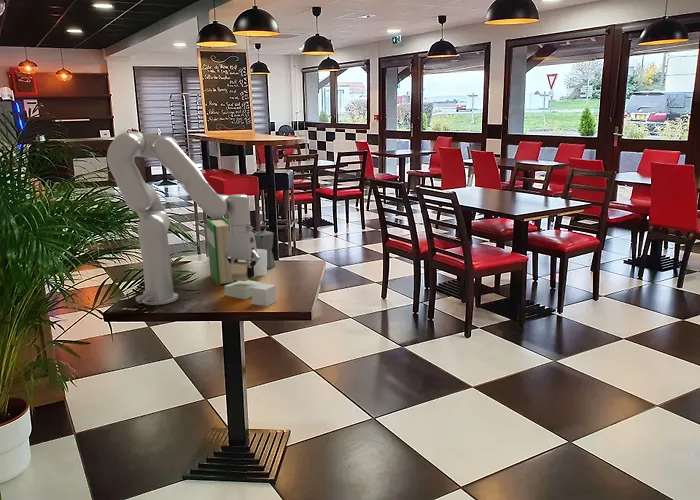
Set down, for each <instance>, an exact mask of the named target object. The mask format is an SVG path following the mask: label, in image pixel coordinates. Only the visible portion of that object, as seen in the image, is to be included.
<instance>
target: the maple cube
mask: <svg viewBox="0 0 700 500" xmlns="http://www.w3.org/2000/svg"><path fill="white" fill-rule="evenodd" d="M250 263H251V262H250ZM247 268H249V267H248V265H247V262H246V260H238V262H235V263H232V264H231V271H232V280H237V281H248V280H250V281H251V280H252V279H254V278H256V276H255V266H254V277H252V278H250V279H249V278H248V272H247Z"/></svg>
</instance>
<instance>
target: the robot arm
mask: <svg viewBox="0 0 700 500" xmlns="http://www.w3.org/2000/svg"><path fill="white" fill-rule="evenodd" d="M136 157H137V158H139V157H140V158H147V159H155V160H157V161H158V162H159V163H160V164H161V165H162V166H163V167H164V169H166V170H167V172H168V173H169V174H171V176H172V177H173V178H174V179H175V180H176V181H177V182H178V183H179V185H181V187H182V189H183V190H184V191H185V192H186V193H187V194H188V196H190V198H191V199H192V200H193V201H194V202H195V204H196V205H197V206H198V207H199V208H200V209H201V210H202V211H203V212H204V213H205V214H206V215H207V216H208V217H209V218H215V219H218V218H222V217H224V216H225V215H227V214H228V221H229V226H230V232H229V235H228V251H227V252H226V253H225V255H224V256H225V257H226V259H228V261H229V263H230V265H231V264H232V263H235V262H238V261H240V260H243V261H246V262H247V265H248V267H249V268H247V272H248V278H249V279H250V278H252V277H254V266H255V265H256V264H257V262H258V261H259V260H260V259H261V258H260V256H259V255H258V254H257V249H256V242H255V237H254V234H253V233H254V232H253V231H252V230H253V229H254V227H253V226H252V225H251V212H250V210H251V209H250V198H249V196H248V195H247V194H245V193H243V194H242V193H241V194H240V193H238V194H231V195H229V194H219V193H217V192H216V191H215V189H213V187H212V186H211V185H210V184H209V182H208V181H207V180H206V178H205V177H204V175H203V172H202V171H201V170H200V168H199V167H198V165H196V163H195V162H194V161H193V160H192V159H191V158H190V157H189V156H188V155H187V153H185V151H184V150H183V149H182V148H181V147H180V146H179V143H178V141H177V140H176V139H175V138H174V137H172V136H169V135H161V134H160V135H159V134H153V133H152V134H151V133H143V132H138V131H126V132H121V133H120V134H118V135H117V136H116V137H114V139H113V140H112V142H111V143H110V145H109V147H108V149H107V153H106V159H107V165H108V168H109V170H110V173H111V174H112V176H113V178H114V181H115V183H116V186H117V187H118V189H119V191H120V193H121V195H122V197H123V199H124V201H125V205H127V208H129V209H130V210H131V211H133V212H136V214H137V215H138V218H139V219H140V220H139V222H138V224H137V225H138V226H137V235H138V241H139V247H140V255H141V261H142V262H141V263H142V270H143V281H144V287H145V288H144V289H145V290H143V291H142V292H143V293H142V294H140V295H138V296H135V301H136V302H137V303H139V302H141V303H143V305H147V306H148V305H149V306H161V305H167V304H170V303H173V302H176V301H177V300H178V299H179V294H178V293H177V292H174V284H173V283H174V282H173V274H172V263H171V262H172V261H171V253H170V245H169V244H170V243H169V238H168V237H169V236H168V230H169V228H170V226H171V225H170V224H171V221H170V217H169V215H168V213H167V210H166V209H165V207H164V205H163V203H162V201H161V199H160V196H159V195H158V193H157V191H156V189H155V188H154V187H153V186H152V185H150V184H149V183H146V182H145V180H144V178H143V176H142V173H141V171H140V169H139V168H138V167H137V165H136V163H135V158H136ZM253 258H255V259H254V260H253ZM250 262H251V263H250ZM252 279H253V278H252ZM250 280H251V279H250Z"/></svg>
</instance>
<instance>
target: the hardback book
mask: <svg viewBox="0 0 700 500" xmlns="http://www.w3.org/2000/svg"><path fill="white" fill-rule="evenodd" d="M205 221H206V232H207V233H206V235H207V245H208V246H207V248H208V257H209V259H208V260H209V270H210V271H209V273H210V277H211V278H212V280H213V282H215V285H217V287H221V285H222V284H231V283H234V282H237V281H238V280H232V271H231V265H230V263H229V261H228V259H226V257H225V256H224V255H225V253H226V252H227V251H228V235H229V232H230V226H229V219H227V218H226V217H224V216H223V217H221V218H218V219H215V218H211V217H209V218H206V219H205Z"/></svg>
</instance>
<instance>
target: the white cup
mask: <svg viewBox="0 0 700 500" xmlns="http://www.w3.org/2000/svg"><path fill="white" fill-rule="evenodd" d="M257 254H258V255H259V256H260V258H261V259H260V260H259V261H258V262H257V264H256V265H255V277H262V276H266V275H267V273H268V269H267V250H265V249H257ZM254 259H255V258H253V260H254Z"/></svg>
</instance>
